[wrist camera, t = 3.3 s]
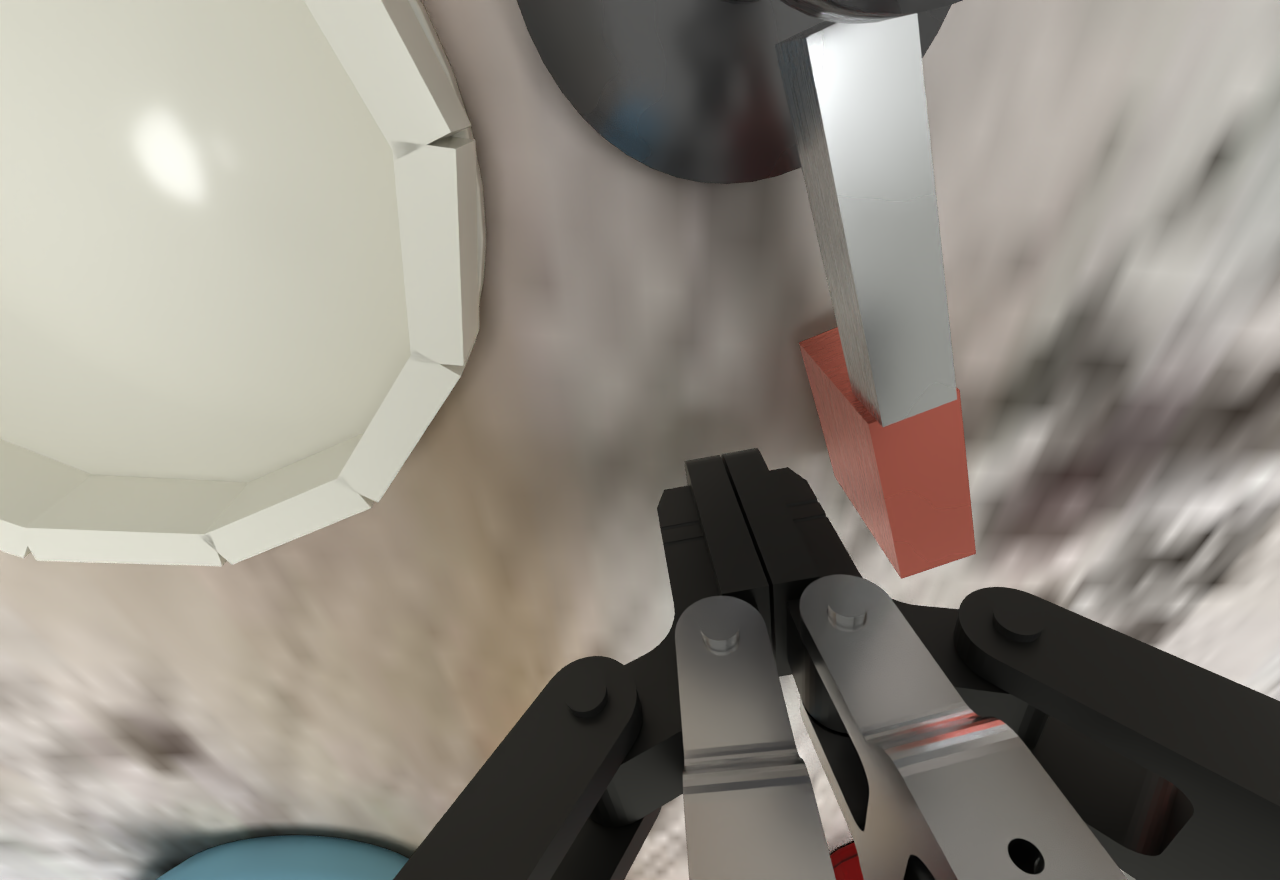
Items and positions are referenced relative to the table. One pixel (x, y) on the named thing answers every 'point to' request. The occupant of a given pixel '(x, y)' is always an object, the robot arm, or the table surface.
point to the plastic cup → (846, 863)
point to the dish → (224, 269)
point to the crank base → (694, 74)
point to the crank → (881, 287)
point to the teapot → (290, 860)
